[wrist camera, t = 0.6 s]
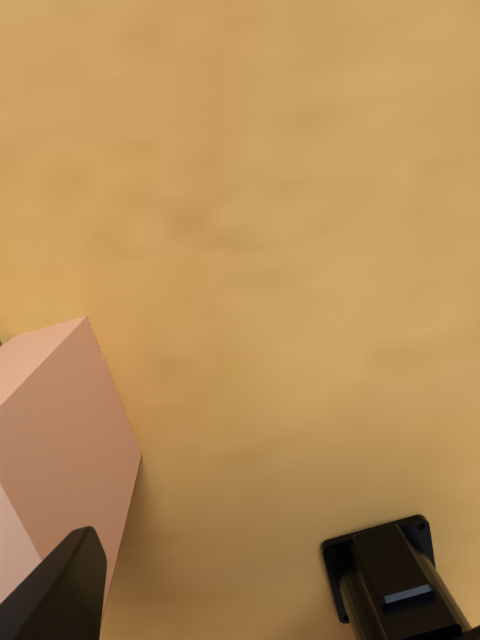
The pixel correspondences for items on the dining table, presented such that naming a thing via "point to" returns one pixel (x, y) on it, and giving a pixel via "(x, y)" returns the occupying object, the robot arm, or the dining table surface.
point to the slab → (60, 449)
